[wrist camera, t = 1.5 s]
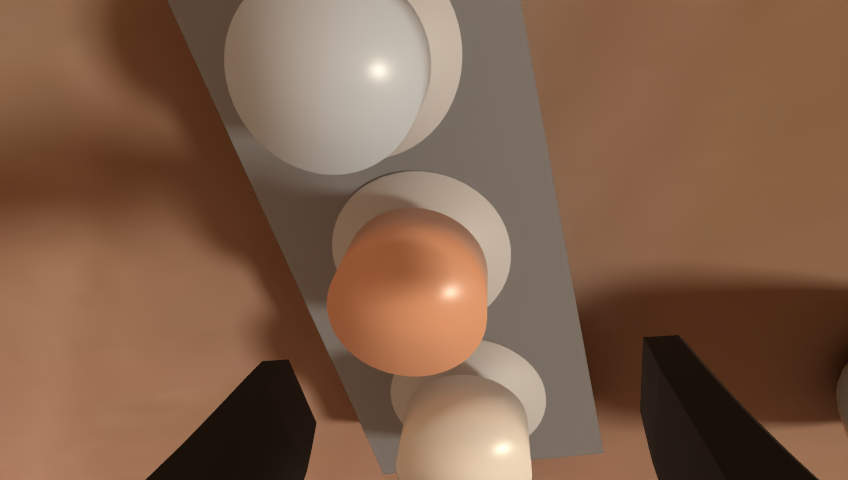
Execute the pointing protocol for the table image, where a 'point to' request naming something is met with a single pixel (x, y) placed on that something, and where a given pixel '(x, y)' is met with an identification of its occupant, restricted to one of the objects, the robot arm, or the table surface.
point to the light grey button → (327, 78)
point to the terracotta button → (410, 293)
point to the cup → (843, 397)
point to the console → (450, 195)
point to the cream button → (464, 432)
